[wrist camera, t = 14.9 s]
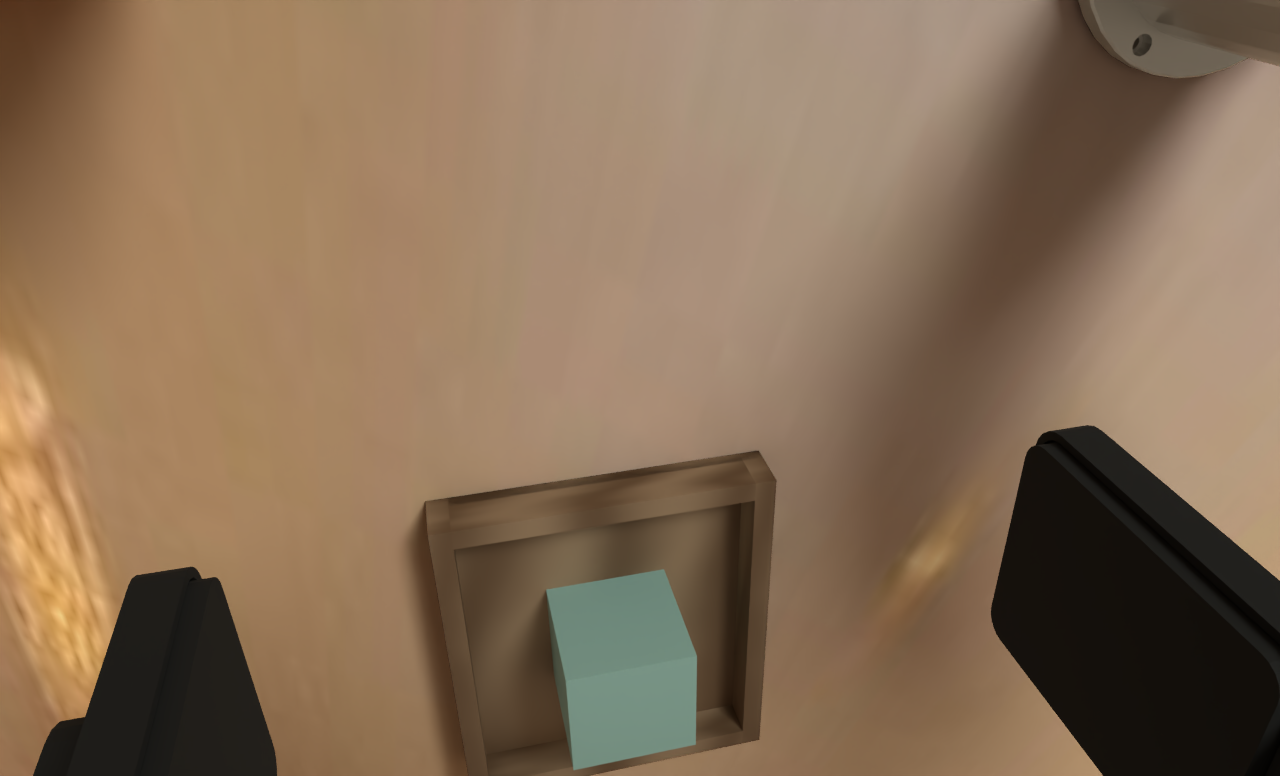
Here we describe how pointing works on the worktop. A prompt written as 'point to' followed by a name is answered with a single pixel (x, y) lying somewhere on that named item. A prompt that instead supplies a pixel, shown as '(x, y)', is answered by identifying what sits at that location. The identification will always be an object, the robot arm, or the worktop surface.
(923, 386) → the worktop surface
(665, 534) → the walnut tray
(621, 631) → the teal cube
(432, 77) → the worktop surface
